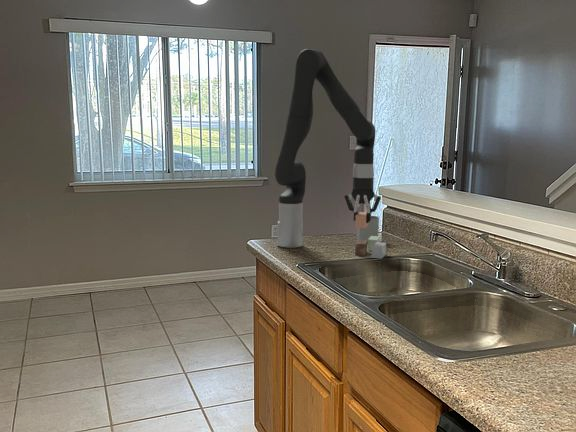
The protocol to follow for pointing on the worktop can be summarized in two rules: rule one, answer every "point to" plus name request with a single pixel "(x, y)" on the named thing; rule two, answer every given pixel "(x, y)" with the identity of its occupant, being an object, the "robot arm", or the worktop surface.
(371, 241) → the sage brick
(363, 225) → the terracotta brick
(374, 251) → the grey brick
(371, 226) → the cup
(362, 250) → the walnut brick
